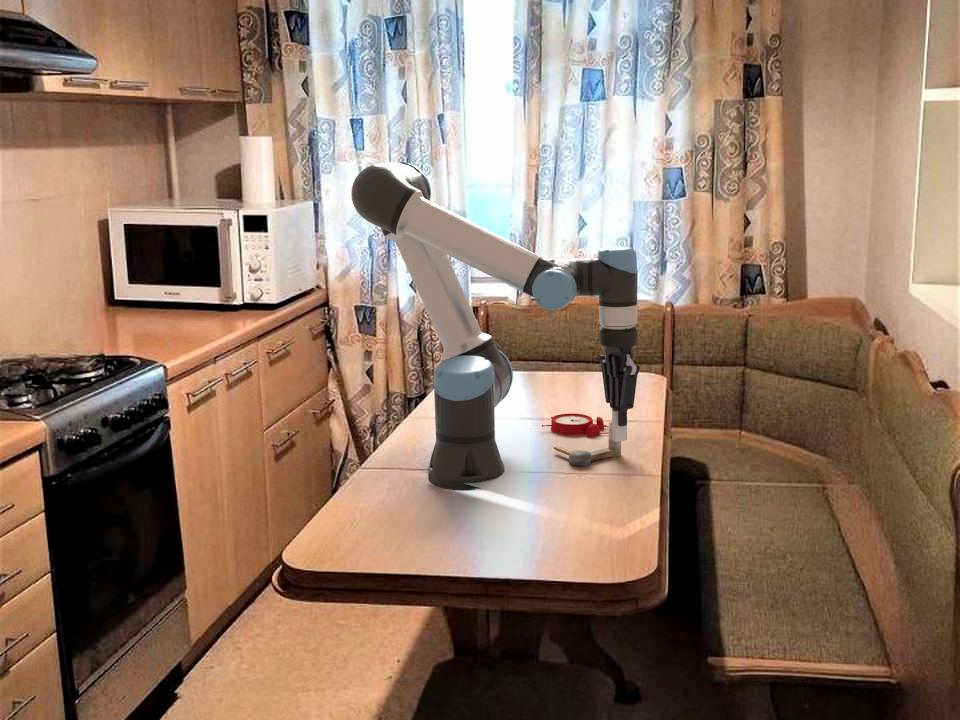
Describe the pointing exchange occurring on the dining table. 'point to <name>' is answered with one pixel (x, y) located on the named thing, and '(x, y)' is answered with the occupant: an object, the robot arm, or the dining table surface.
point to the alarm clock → (576, 425)
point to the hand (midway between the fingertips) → (619, 440)
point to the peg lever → (585, 457)
